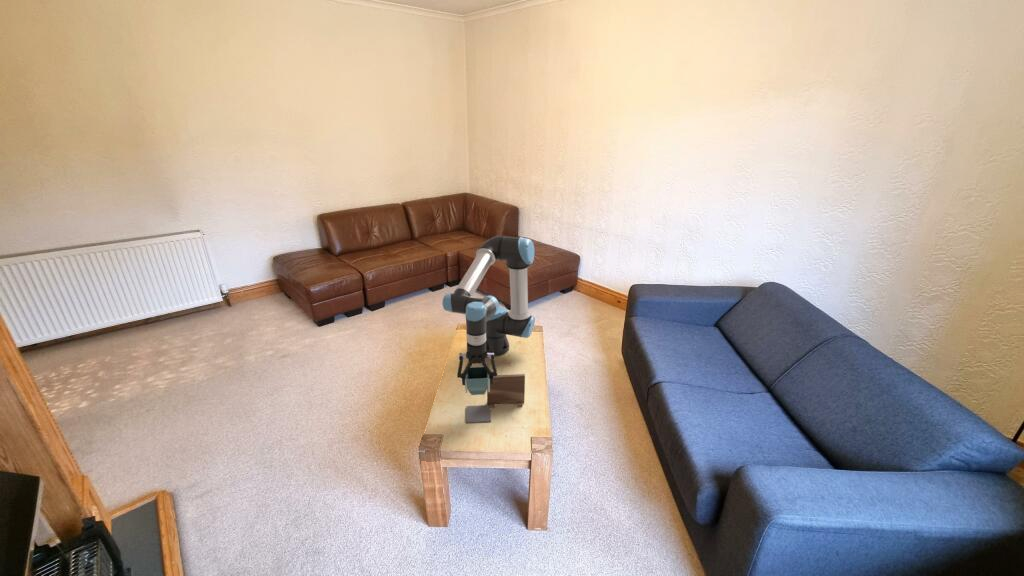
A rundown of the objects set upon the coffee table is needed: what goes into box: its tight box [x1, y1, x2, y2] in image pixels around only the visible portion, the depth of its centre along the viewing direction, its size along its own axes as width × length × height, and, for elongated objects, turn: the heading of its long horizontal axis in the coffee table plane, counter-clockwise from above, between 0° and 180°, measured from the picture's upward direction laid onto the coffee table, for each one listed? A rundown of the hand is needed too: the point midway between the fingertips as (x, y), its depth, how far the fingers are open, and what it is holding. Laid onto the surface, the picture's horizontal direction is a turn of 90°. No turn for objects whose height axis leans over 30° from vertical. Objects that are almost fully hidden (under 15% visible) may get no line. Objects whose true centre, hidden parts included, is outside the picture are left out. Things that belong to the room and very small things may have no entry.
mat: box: [465, 404, 492, 424], centre depth 165 cm, size 10×10×1 cm
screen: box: [486, 373, 526, 409], centre depth 170 cm, size 6×16×14 cm, turn 95°
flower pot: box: [466, 366, 488, 396], centre depth 159 cm, size 9×9×9 cm
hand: (477, 390), depth 161 cm, fingers closed on flower pot, 8 cm apart
